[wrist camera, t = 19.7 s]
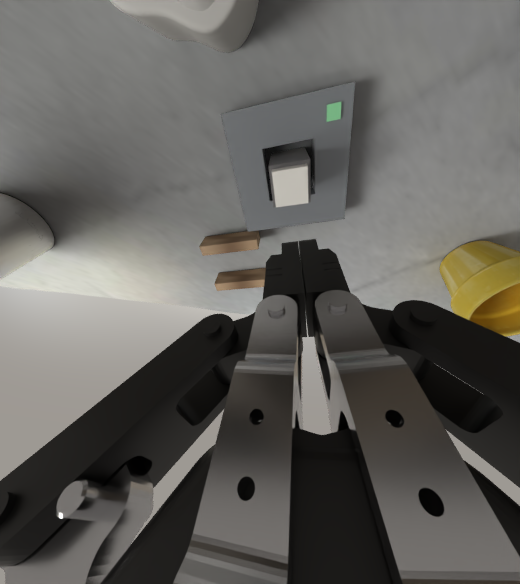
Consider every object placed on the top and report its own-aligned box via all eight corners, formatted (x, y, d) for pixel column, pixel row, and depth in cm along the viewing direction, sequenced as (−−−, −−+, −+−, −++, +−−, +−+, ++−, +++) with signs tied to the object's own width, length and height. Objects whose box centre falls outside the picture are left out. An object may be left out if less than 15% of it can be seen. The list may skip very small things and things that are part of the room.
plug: (275, 187, 26) (273, 211, 20) (271, 152, 24) (267, 168, 18) (305, 182, 26) (311, 205, 20) (304, 146, 23) (311, 161, 17)
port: (250, 223, 30) (247, 232, 28) (226, 113, 22) (219, 114, 20) (340, 211, 28) (344, 219, 25) (348, 83, 20) (356, 80, 18)
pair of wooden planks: (221, 279, 37) (217, 290, 34) (205, 236, 32) (199, 246, 29) (267, 274, 35) (266, 286, 33) (258, 229, 30) (256, 239, 28)
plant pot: (492, 284, 33) (552, 335, 26) (417, 291, 35) (452, 341, 28) (531, 220, 26) (627, 264, 19) (436, 234, 29) (489, 278, 21)
